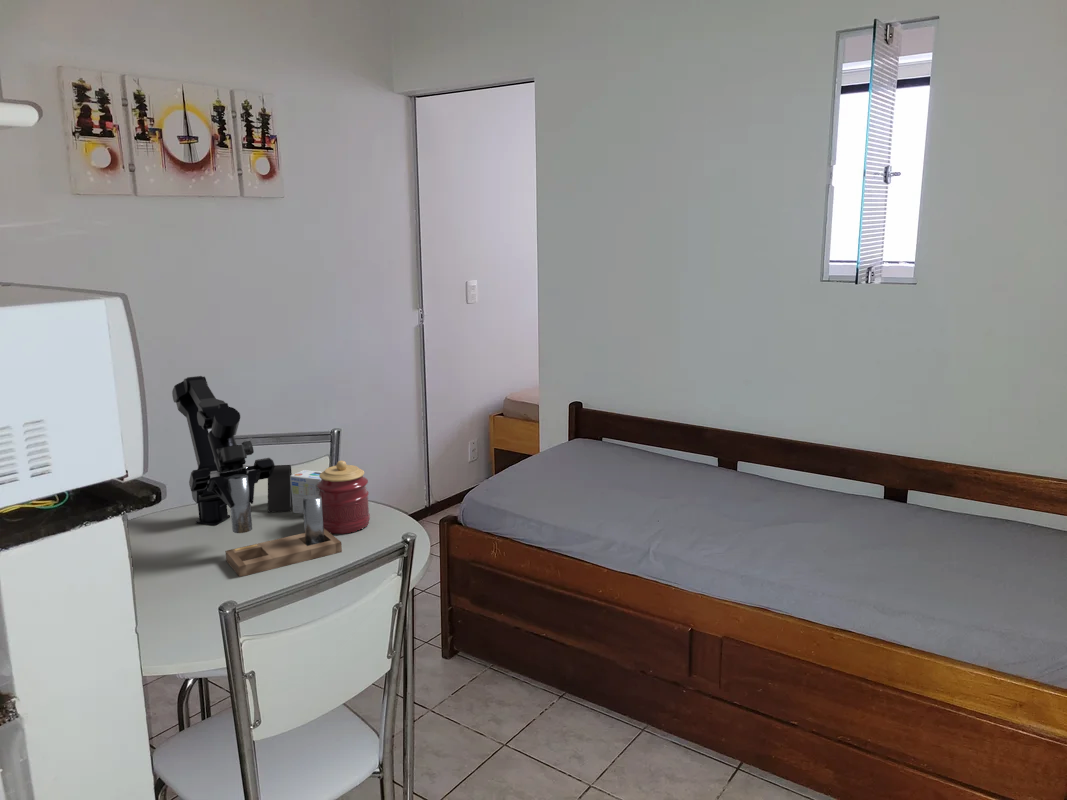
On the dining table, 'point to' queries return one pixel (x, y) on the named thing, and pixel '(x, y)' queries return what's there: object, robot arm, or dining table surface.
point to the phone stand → (280, 489)
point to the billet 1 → (240, 503)
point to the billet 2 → (313, 519)
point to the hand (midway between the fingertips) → (241, 505)
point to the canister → (344, 498)
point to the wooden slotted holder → (279, 553)
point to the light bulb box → (303, 487)
